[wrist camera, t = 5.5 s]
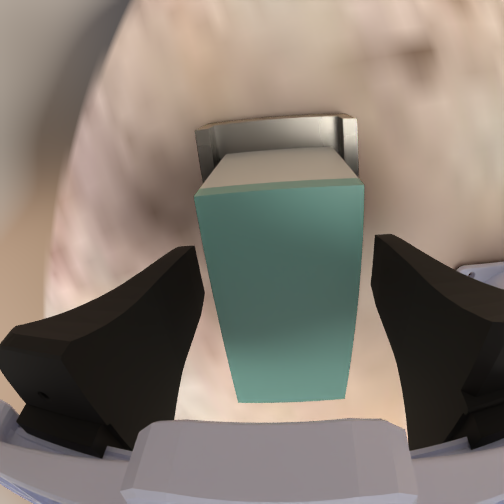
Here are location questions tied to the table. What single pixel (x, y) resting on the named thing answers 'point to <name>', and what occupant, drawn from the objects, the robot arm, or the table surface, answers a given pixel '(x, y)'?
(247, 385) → the teal rectangular brick
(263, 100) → the table surface
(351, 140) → the grey rectangular tray
